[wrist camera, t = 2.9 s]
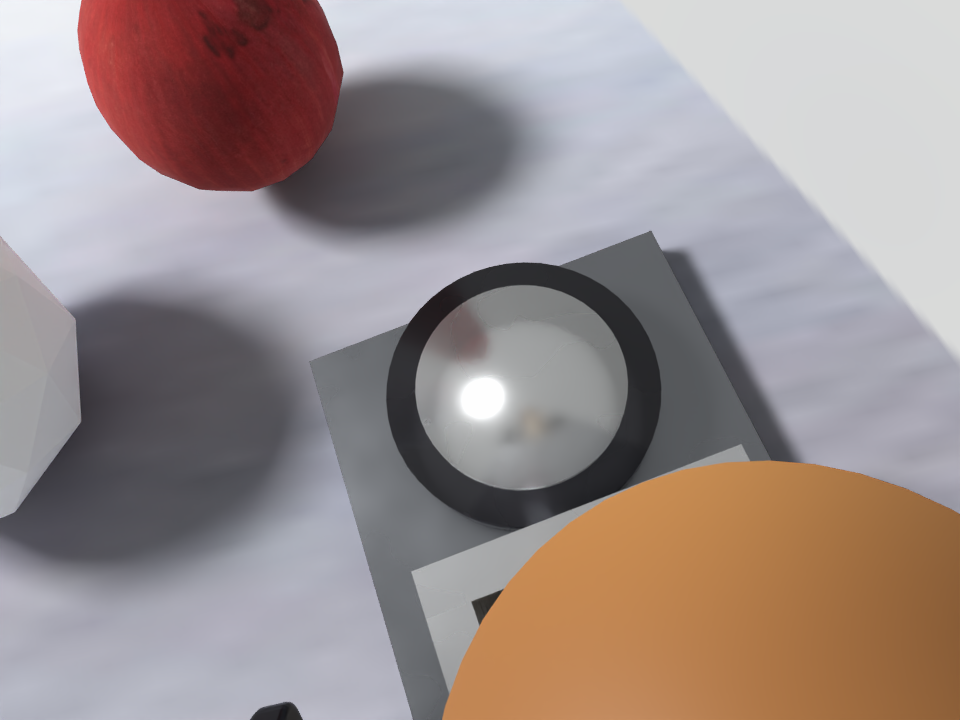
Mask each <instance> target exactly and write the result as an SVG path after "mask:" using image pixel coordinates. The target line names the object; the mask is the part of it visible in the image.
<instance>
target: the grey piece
mask: <svg viewBox="0 0 960 720" xmlns="http://www.w3.org/2000/svg"><path fill="white" fill-rule="evenodd" d="M310 365H311V368H312V372H313V375H314V379H315V382H316V386H317V389H318V393H319V396H320V400H321V403H322V406H323V410H324V413H325V417H326V420H327V424H328V427H329V431H330V434H331V437H332V441H333V444H334V448H335V451H336V455H337V458H338V462H339V465H340V469H341V472H342V475H343V479H344V482H345V486H346V489H347V493H348V496H349V500H350V503H351V506H352V510H353V513H354V517H355V520H356V524H357V527H358V531H359V534H360V538H361V541H362V544H363V548H364V551H365V555H366V558H367V562H368V565H369V569H370V572H371V575H372V579H373V582H374V586H375V589H376V593H377V596H378V600H379V603H380V607H381V610H382V613H383V617H384V620H385V624H386V627H387V631H388V634H389V638H390V641H391V644H392V648H393V651H394V655H395V658H396V662H397V665H398V669H399V672H400V676H401V679H402V682H403V686H404V689H405V693H406V696H407V700H408V703H409V707H410V710H411V714H412V717H413V720H442V718H443V714H444V709H445V705H446V703H447V700H448V697H449V695H450V692H451V689H452V686H453V684H454V681H455V678H456V675H457V673H458V670H459V667H460V664H461V662H462V659H463V658H464V656H465V654H466V652H467V650H468V648H469V646H470V644H471V642H472V640H473V638H474V636H475V634H476V632H477V630H478V628H479V626H480V624H481V622H482V620H483V619H484V617H485V616H486V614H487V613H488V611H489V610H490V609H491V607H492V606H493V604H494V603H495V601H496V600H497V598H498V597H499V595H500V594H501V592H502V591H503V590H504V588H505V587H506V585H507V584H508V582H509V581H510V580H511V579H512V578H513V577H514V576H515V575H516V573H517V572H518V571H519V570H520V569H521V568H522V567H523V566H524V565H525V563H526V562H527V561H528V560H529V559H530V558H531V557H532V556H533V555H534V553H535V552H536V551H537V550H538V549H539V548H541V547H542V546H543V545H544V544H545V543H546V542H548V541H549V540H550V539H551V538H552V537H553V536H555V535H556V534H557V533H558V532H559V531H560V530H562V529H563V528H564V527H565V526H566V525H568V524H569V523H570V522H571V521H573V520H575V519H576V518H578V517H579V516H581V515H582V514H584V513H585V512H587V511H589V510H590V509H592V508H593V507H595V506H596V505H598V504H599V503H601V502H603V501H604V500H606V499H608V498H610V497H612V496H615V495H617V494H619V493H621V492H623V491H625V490H627V489H630V488H632V487H634V486H636V485H638V484H640V483H642V482H645V481H648V480H652V479H655V478H658V477H661V476H665V475H668V474H671V473H674V472H677V471H681V470H684V469H690V468H696V467H702V466H707V465H713V464H719V463H725V462H747V461H772V460H771V458H770V456H769V455H768V453H767V451H766V449H765V447H764V445H763V443H762V441H761V439H760V437H759V435H758V434H757V432H756V430H755V428H754V426H753V424H752V422H751V420H750V418H749V416H748V414H747V413H746V411H745V409H744V407H743V405H742V403H741V401H740V399H739V397H738V395H737V394H736V392H735V390H734V388H733V386H732V384H731V382H730V380H729V378H728V376H727V374H726V373H725V371H724V369H723V367H722V365H721V363H720V361H719V359H718V357H717V355H716V353H715V352H714V350H713V348H712V346H711V344H710V342H709V340H708V338H707V336H706V334H705V332H704V331H703V329H702V327H701V325H700V323H699V321H698V319H697V317H696V315H695V313H694V312H693V310H692V308H691V306H690V304H689V302H688V300H687V298H686V296H685V294H684V292H683V291H682V289H681V287H680V285H679V283H678V281H677V279H676V277H675V275H674V273H673V271H672V270H671V268H670V266H669V264H668V262H667V260H666V258H665V256H664V254H663V252H662V250H661V249H660V247H659V245H658V243H657V241H656V239H655V237H654V235H653V233H652V231H649V232H647V233H644V234H642V235H639V236H636V237H634V238H631V239H629V240H626V241H623V242H621V243H618V244H615V245H613V246H610V247H608V248H605V249H602V250H600V251H597V252H595V253H592V254H589V255H587V256H584V257H581V258H579V259H576V260H574V261H571V262H568V263H566V264H563V265H561V266H554V265H548V264H542V263H510V264H503V265H498V266H493V267H489V268H486V269H482V270H479V271H476V272H473V273H471V274H469V275H467V276H465V277H462V278H460V279H458V280H457V281H455V282H453V283H452V284H450V285H448V286H447V287H445V288H444V289H442V290H441V291H440V292H438V293H437V294H436V295H435V296H433V297H432V298H431V299H430V300H429V301H428V302H427V303H426V304H425V305H424V306H423V307H422V308H421V309H420V310H419V311H418V312H417V314H416V315H415V316H414V318H413V319H412V320H411V321H410V323H409V324H406V325H404V326H401V327H398V328H396V329H393V330H391V331H388V332H385V333H383V334H380V335H377V336H375V337H372V338H370V339H367V340H364V341H362V342H359V343H357V344H354V345H351V346H349V347H346V348H343V349H341V350H338V351H336V352H333V353H330V354H328V355H325V356H323V357H320V358H317V359H315V360H312V361H310Z"/></svg>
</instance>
